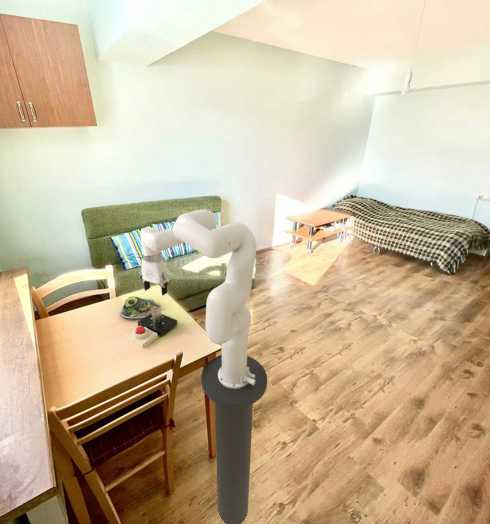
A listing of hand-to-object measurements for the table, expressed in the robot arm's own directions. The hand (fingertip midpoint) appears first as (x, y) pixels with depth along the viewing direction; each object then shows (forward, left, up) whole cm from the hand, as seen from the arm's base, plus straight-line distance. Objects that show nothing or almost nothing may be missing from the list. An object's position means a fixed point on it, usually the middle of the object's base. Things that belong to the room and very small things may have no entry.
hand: (156, 291), depth 125 cm
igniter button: (0, +12, -15) cm, 19 cm away
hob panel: (+1, +1, -18) cm, 18 cm away
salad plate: (+19, -3, -18) cm, 26 cm away
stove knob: (+1, 0, -16) cm, 16 cm away
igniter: (0, +12, -18) cm, 22 cm away
